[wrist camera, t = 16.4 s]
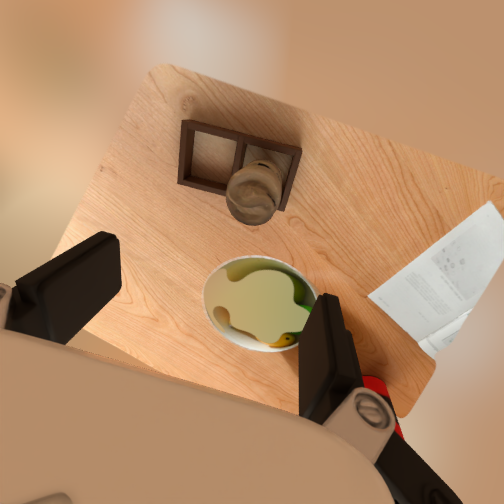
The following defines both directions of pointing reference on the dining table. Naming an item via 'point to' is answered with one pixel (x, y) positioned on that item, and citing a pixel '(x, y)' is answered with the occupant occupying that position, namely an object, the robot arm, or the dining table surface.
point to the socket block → (243, 139)
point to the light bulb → (254, 192)
